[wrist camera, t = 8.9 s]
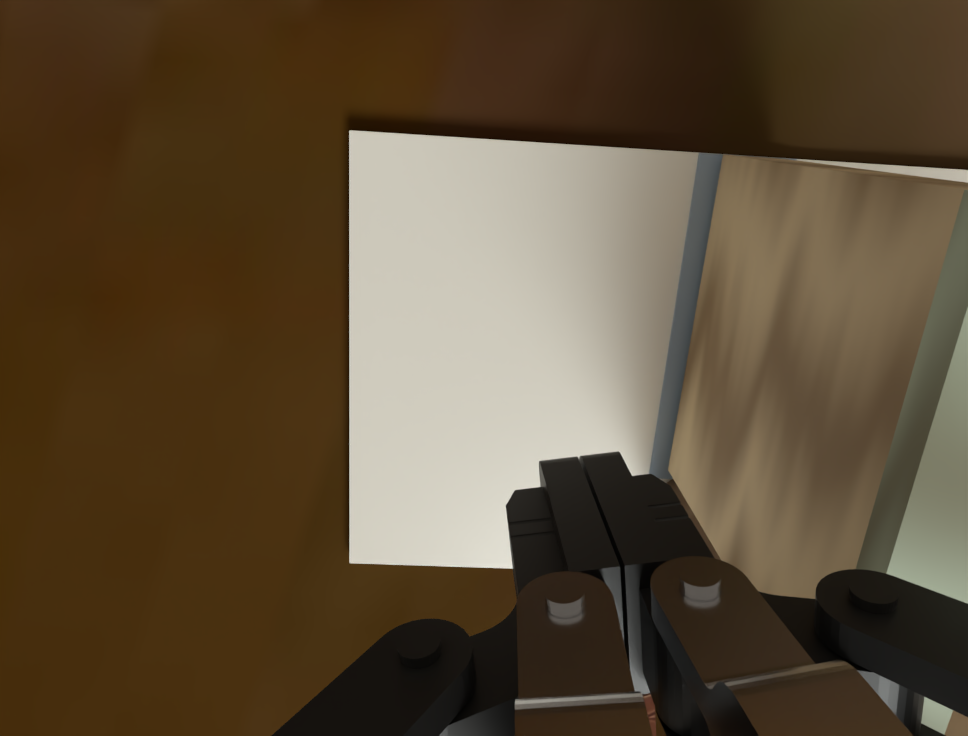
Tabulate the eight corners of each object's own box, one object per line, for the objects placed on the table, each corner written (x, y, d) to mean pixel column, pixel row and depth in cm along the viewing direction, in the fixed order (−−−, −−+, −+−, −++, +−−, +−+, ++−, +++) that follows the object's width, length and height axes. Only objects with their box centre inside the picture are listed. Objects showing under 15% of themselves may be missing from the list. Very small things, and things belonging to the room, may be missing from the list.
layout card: (351, 556, 26) (349, 564, 26) (351, 130, 21) (348, 130, 21) (974, 577, 28) (983, 585, 27) (1112, 179, 23) (1125, 180, 22)
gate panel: (725, 472, 25) (937, 754, 14) (666, 469, 25) (832, 752, 14) (790, 159, 21) (1140, 204, 10) (721, 154, 21) (1002, 194, 10)
